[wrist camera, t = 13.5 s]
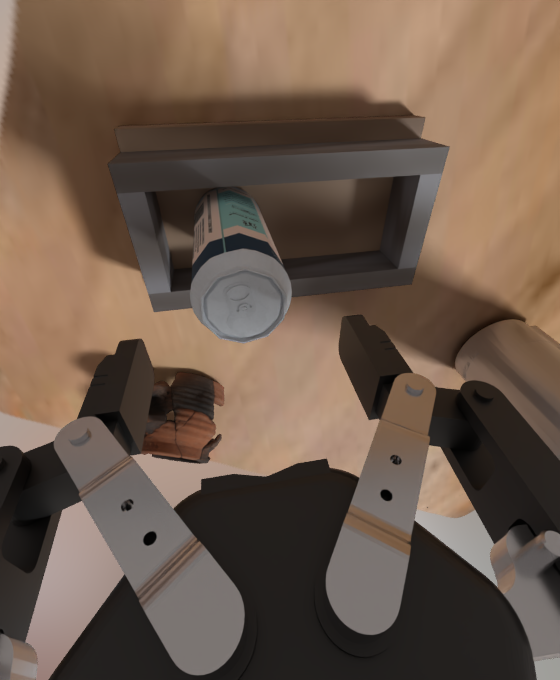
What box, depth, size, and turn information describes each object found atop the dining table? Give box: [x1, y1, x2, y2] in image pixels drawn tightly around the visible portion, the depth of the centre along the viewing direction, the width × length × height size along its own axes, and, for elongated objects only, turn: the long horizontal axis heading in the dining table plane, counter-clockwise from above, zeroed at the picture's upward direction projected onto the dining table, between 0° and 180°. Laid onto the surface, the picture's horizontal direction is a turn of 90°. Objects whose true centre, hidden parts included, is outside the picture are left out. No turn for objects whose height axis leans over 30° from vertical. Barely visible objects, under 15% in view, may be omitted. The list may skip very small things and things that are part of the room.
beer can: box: [190, 187, 292, 343], centre depth 19 cm, size 5×5×12 cm
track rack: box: [108, 115, 449, 312], centre depth 24 cm, size 12×20×5 cm, turn 91°
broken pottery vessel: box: [141, 372, 224, 464], centre depth 34 cm, size 12×9×8 cm
